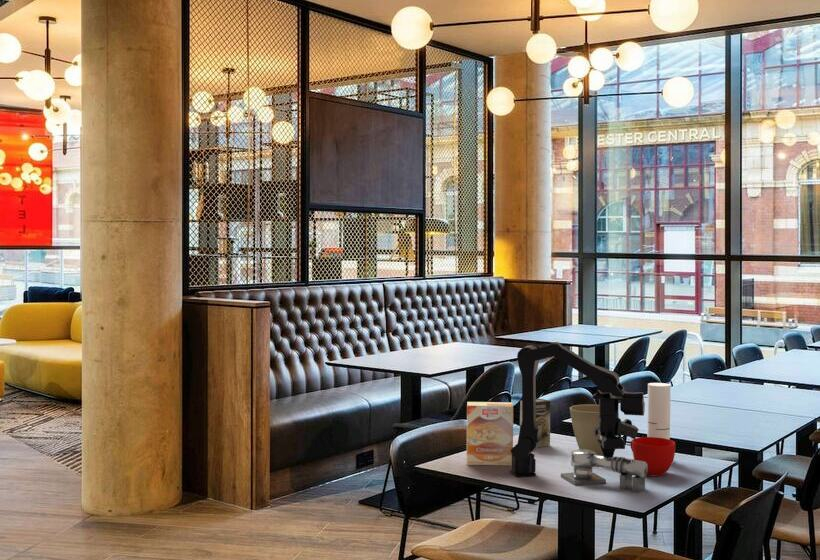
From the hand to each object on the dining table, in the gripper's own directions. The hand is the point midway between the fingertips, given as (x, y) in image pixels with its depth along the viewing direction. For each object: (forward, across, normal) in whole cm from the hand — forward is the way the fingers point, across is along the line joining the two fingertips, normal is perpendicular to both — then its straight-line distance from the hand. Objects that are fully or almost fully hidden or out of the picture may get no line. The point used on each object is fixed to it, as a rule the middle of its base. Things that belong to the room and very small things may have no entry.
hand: (608, 465), depth 264 cm
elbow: (+1, -1, +4) cm, 4 cm away
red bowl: (+6, +11, -14) cm, 19 cm away
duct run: (+5, -8, -5) cm, 11 cm away
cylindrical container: (+6, +27, -21) cm, 35 cm away
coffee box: (+6, +46, +18) cm, 50 cm away
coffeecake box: (+5, +21, +35) cm, 41 cm away
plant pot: (+6, +33, 0) cm, 34 cm away
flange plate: (+5, +1, +8) cm, 9 cm away
